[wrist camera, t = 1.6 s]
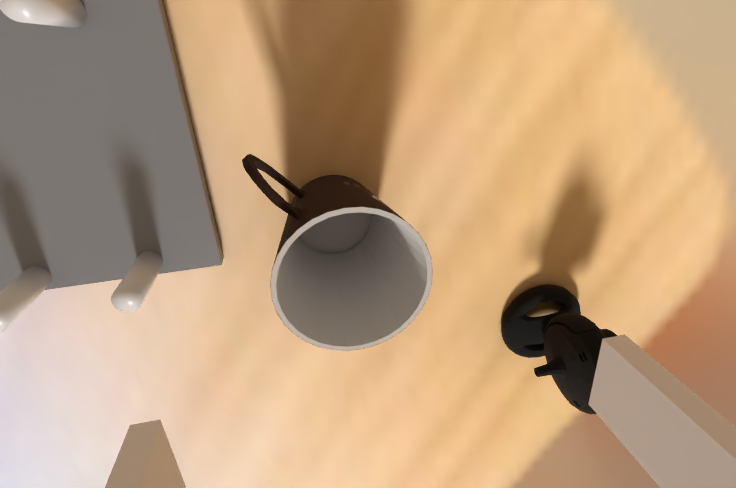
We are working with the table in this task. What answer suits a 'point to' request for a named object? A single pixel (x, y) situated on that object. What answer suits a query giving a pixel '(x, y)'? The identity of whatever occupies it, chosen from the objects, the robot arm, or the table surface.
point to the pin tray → (95, 153)
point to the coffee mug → (344, 263)
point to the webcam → (557, 341)
